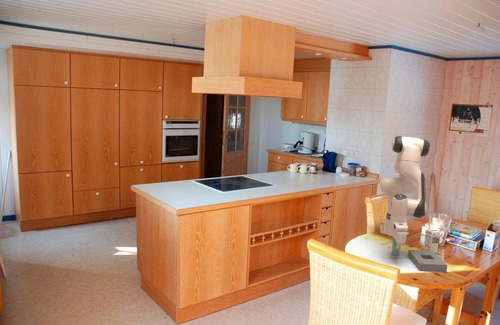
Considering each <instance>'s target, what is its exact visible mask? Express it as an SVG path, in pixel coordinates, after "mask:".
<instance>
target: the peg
mask: <svg viewBox="0 0 500 325" xmlns="http://www.w3.org/2000/svg"><path fill="white" fill-rule="evenodd" d="M391 247H392V248H391V256H394V257H399V256H400V251H401V250H400V247H401V246H400V247H399V249H397V248H396V240H395V239H394V238H393V237H392V246H391Z"/></svg>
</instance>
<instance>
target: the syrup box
mask: <svg viewBox="0 0 500 325" xmlns="http://www.w3.org/2000/svg"><path fill="white" fill-rule="evenodd" d="M440 238H441V231H440V230H438V229H435V228H430V229H425V233H424V245H423V247H424V249H423V250H425V251H434V252H435V253H436V254H437V255H438V256H439V252H440V240H441V239H440Z"/></svg>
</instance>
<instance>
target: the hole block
mask: <svg viewBox="0 0 500 325" xmlns="http://www.w3.org/2000/svg"><path fill="white" fill-rule="evenodd" d="M408 256H409V257H408ZM407 257H408V258H409V260H410V261H411V260H412V261H413V262H412V261H411V262H412V263H413V264H415V265H416V266H415V265H414V266H415V267H416V268H417V270H418V269H419V270H420V271H421V272H435V273H447V272H448V264H447V262H445V261H444V260H443V259H442V258H441V257H440V256H439V254H438V255H437V254H436V253H435V252H434V251H425V250H424V249H423V250H421V249H408V252H407ZM419 270H418V271H419Z"/></svg>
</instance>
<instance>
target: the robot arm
mask: <svg viewBox="0 0 500 325" xmlns="http://www.w3.org/2000/svg"><path fill="white" fill-rule="evenodd" d="M391 148H392V151H393V152H394V153H397V155H396V158H395V162H394V166H393V168H394V171H395V172H396V173H397V174H399V176H398V177H385V178H383V179H381V180H380V182H379V189H380V191H381V193H382V194H384V195H385V197H386V199H387V212H386V217H385V218H384V219H383V221H381V223H380V224H381V225H379V232H380V234H384V235H387V236H389V237H392V239H393V238H394V239H395V240H396V248H397V249H399V247H401V245H402V246H403V245H405V244H406V241H407V236H408V235H410V232H409V226H408V217H409V216H410V217H414V218H418V219H421V218H424V217H425V216H426V215H427V211H428V205H427V196H426V195H427V193H426V178H425V173H423V172H422V170H421V168H420V167H421V160H422V158H421V157H426V156H428V154H429V153H430V151H431V144H430V141H429V140H427V139H424V138H423V139H422V138H418V137H415V136H414V137H413V136H401V135H398V136H397V135H396V136H395V137H394V138H393V140H392V142H391ZM416 191H417V199H413V198H408V196H407V195H409V194H412V193H415V192H416ZM407 216H408V217H407Z"/></svg>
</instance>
